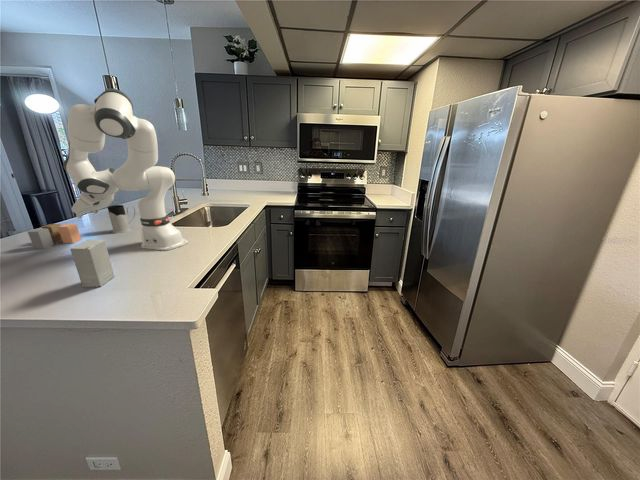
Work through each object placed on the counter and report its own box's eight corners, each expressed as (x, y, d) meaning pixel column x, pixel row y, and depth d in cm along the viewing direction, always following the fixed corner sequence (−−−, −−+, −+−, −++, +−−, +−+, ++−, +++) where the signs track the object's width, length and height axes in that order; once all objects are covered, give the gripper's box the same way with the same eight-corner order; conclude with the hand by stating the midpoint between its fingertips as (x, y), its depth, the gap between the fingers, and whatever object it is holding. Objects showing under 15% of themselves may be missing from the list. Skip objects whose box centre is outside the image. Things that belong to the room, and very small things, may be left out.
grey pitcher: (109, 231, 153) (102, 207, 148) (135, 225, 165) (129, 202, 160) (117, 234, 149) (110, 208, 144) (143, 227, 161) (137, 204, 156)
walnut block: (65, 239, 139) (60, 223, 136) (56, 243, 135) (50, 226, 132) (56, 239, 139) (50, 223, 136) (47, 243, 135) (41, 226, 132)
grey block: (54, 245, 132) (48, 228, 129) (44, 248, 127) (37, 231, 124) (44, 245, 132) (38, 228, 129) (34, 248, 127) (27, 231, 124)
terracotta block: (81, 240, 139) (76, 224, 136) (73, 243, 135) (67, 226, 132) (72, 239, 139) (66, 224, 136) (63, 243, 135) (57, 226, 132)
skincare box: (97, 277, 101) (85, 239, 95) (117, 276, 101) (106, 238, 96) (80, 288, 93) (66, 247, 87) (102, 287, 93) (89, 247, 88)
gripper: (110, 188, 137) (97, 205, 141) (76, 194, 118) (62, 215, 122) (121, 196, 139) (107, 213, 142) (89, 204, 120) (74, 224, 123)
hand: (86, 214), depth 132 cm, fingers open, 8 cm apart
